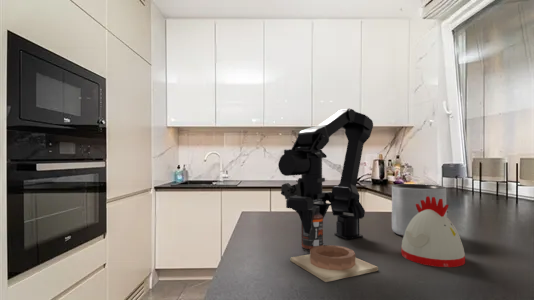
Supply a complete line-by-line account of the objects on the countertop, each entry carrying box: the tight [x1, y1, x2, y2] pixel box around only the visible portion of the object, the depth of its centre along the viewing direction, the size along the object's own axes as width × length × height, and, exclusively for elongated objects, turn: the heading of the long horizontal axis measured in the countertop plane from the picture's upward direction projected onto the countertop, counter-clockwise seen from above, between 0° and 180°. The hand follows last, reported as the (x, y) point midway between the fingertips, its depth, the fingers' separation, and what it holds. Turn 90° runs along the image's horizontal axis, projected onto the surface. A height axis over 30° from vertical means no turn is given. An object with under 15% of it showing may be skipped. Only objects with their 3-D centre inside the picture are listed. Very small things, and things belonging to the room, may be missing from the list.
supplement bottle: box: [300, 206, 324, 250], centre depth 85 cm, size 6×6×11 cm
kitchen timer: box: [400, 196, 466, 268], centre depth 76 cm, size 14×14×15 cm
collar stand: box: [290, 244, 379, 283], centre depth 70 cm, size 14×14×3 cm
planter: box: [391, 183, 448, 237], centre depth 99 cm, size 16×16×16 cm
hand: (312, 230), depth 85 cm, fingers closed on supplement bottle, 6 cm apart
